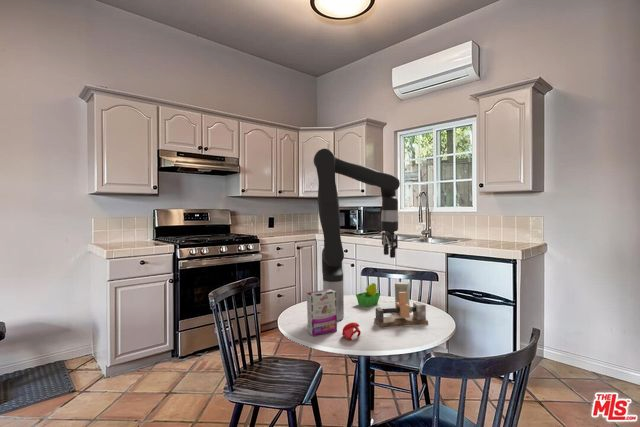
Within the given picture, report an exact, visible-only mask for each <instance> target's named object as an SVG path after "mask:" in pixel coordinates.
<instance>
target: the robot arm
mask: <svg viewBox="0 0 640 427" xmlns="http://www.w3.org/2000/svg"><path fill="white" fill-rule="evenodd" d="M313 165H314V167H315V168H316V173H317V178H318V185H317V186H318V189H317V208H318V216H319V222H320V226H321V231H322V232H323V233H322V234H323V248H322V251H321V272H322V290H328V289H332V290H334V291H336V313H337V322H338V321H342V320H343V319H344V317H345V313H344V309H345V308H344V271H343V261H344V257H345V253H344V247H343V243H342V238H341V218H340V217H341V216H340V215H341V214H340V213H341V212H340V202H339V195H338V189H337V183H336V177H335V176H336V174H337V175H338V174H339V175H342V176H344V177H348V178H350V179H352V180H355V181H358V182H361V183H364V184H366V185H368V186H375V187H378V188H380V195H381V215H380V218H381V219H380V229H381V245H382V246H383V255H384V256H389V257H390V259H392V258H393V259H394V258H396V249H398V248H399V244H398V243H399V242H398V237H399V236H398V234H395V232H397V231H399V210H398V208H399V205H398V204H399V201H398V198H397V195H396V192H397V190H398V189H399V187H400V186H401V185H400V184H401V183H400V179H399V178H398V177H397V176H395V175H393V174H391V173H386V172H381V171H378V170H375V169H374V168H370V167H368V166H365V165H361V164H356V163H352V162H348V161H346V160H343V159H340V158H338V157H336V156H335V154H334V153H333V151H332V150H330V149H328V148H321V149H319V150H317V151H316V153H315V154H314V157H313Z"/></svg>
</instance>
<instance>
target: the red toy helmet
mask: <svg viewBox="0 0 640 427" xmlns="http://www.w3.org/2000/svg"><path fill="white" fill-rule="evenodd" d="M359 327H360V324H359V323H357V322H348V323H346V324H345V325H344V326H343V328H342V334H341V335H342V336H344V337H345V338H346V339H347V340H349V341H352V337H353V336H354V335H355V334H356V333H357V334H356V337H357V338H360V335H361V333H362V332H361V330H360V328H359Z"/></svg>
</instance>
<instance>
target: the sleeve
mask: <svg viewBox="0 0 640 427" xmlns="http://www.w3.org/2000/svg"><path fill="white" fill-rule="evenodd" d="M410 306H411V305H410V304H409V305H408V304H407V302H406V292H399V302H396V308H400V313H395V315H396V316H399V317H400V318H410V315H411V313H410Z"/></svg>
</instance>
